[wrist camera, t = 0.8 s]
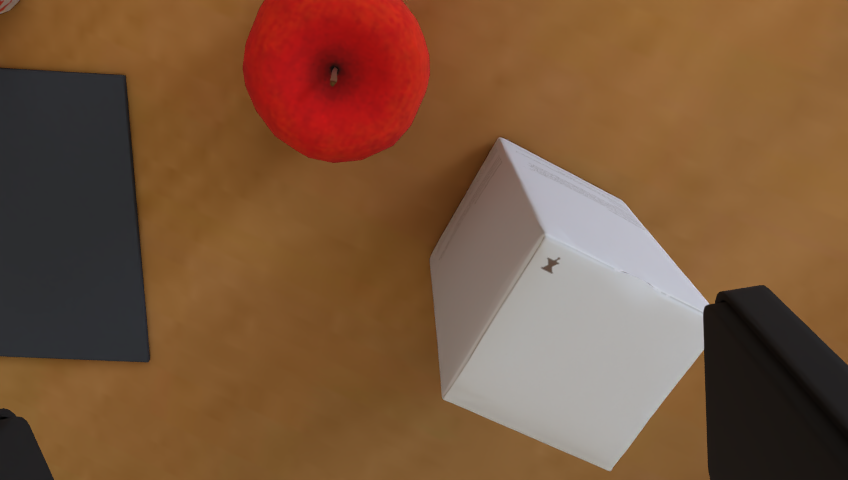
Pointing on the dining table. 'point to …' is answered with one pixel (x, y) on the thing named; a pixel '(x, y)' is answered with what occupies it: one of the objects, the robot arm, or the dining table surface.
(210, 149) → the dining table surface
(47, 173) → the mat
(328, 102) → the apple
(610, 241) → the white product box
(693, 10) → the dining table surface
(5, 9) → the beverage cup
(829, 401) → the robot arm
